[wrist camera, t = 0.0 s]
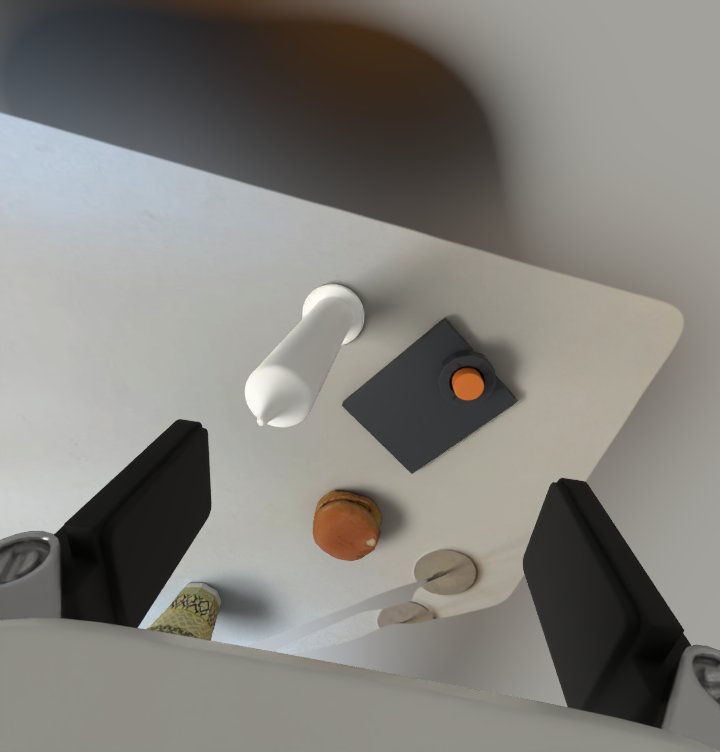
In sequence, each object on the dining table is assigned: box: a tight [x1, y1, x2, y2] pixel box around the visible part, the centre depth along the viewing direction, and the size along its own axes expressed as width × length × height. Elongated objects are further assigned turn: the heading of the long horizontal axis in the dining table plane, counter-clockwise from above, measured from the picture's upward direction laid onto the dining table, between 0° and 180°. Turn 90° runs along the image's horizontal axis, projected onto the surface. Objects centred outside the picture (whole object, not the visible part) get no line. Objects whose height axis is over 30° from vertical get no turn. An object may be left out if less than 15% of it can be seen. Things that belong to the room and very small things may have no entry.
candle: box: [245, 284, 365, 427], centre depth 34 cm, size 7×7×25 cm
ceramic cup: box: [146, 583, 221, 641], centre depth 62 cm, size 13×10×10 cm
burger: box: [313, 491, 382, 561], centre depth 55 cm, size 10×9×5 cm
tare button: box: [452, 368, 484, 400], centre depth 43 cm, size 3×3×2 cm
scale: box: [342, 318, 517, 473], centre depth 47 cm, size 16×13×3 cm
